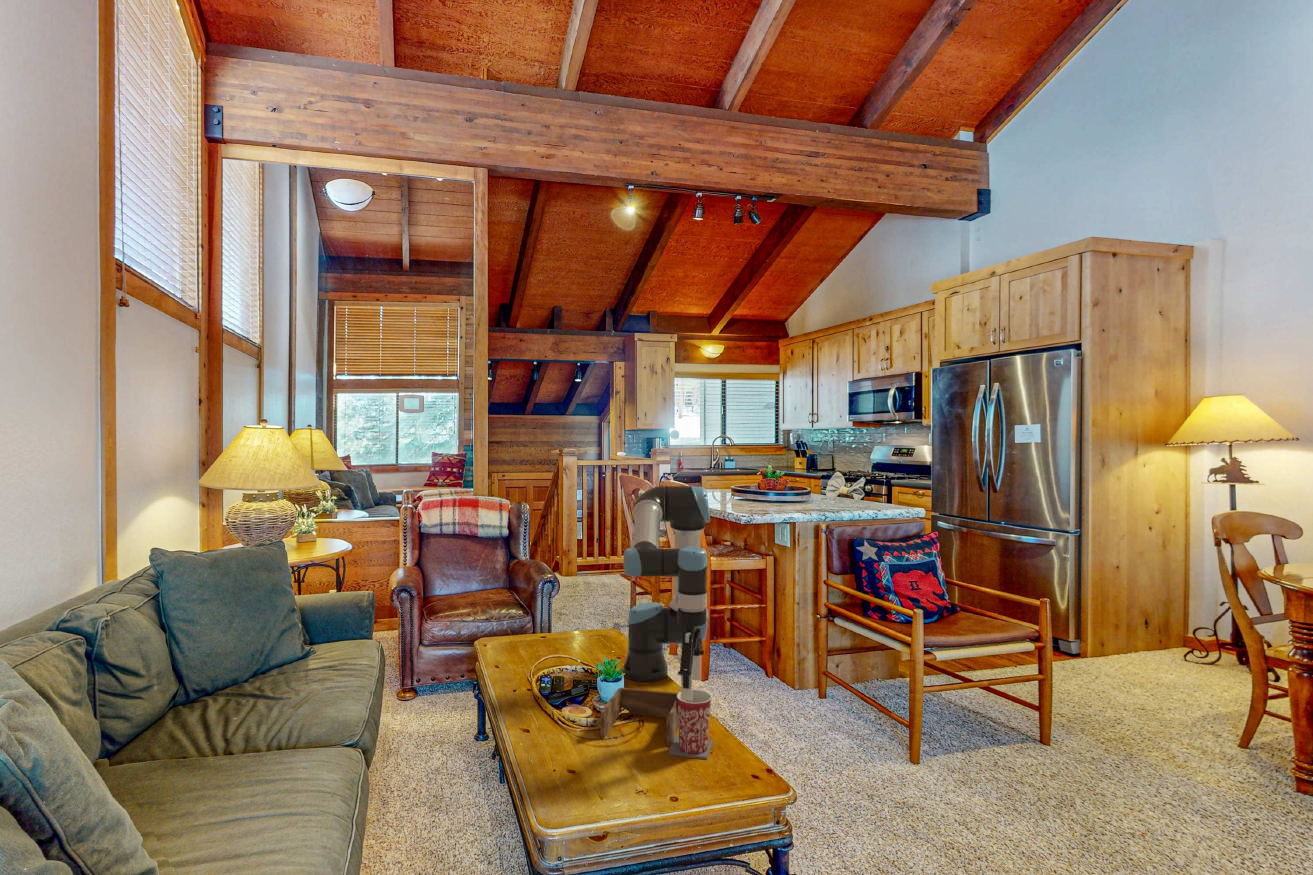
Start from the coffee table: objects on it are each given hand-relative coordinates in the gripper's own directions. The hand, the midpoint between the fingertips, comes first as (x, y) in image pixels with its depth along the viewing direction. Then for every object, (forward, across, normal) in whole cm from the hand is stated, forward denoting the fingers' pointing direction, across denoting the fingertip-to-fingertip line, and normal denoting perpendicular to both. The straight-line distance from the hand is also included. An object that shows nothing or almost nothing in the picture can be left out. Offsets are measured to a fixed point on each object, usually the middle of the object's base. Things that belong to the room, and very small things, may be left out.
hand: (691, 689), depth 177 cm
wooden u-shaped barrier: (+15, -8, -15) cm, 23 cm away
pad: (+15, +1, 0) cm, 15 cm away
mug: (+15, 0, 0) cm, 15 cm away
